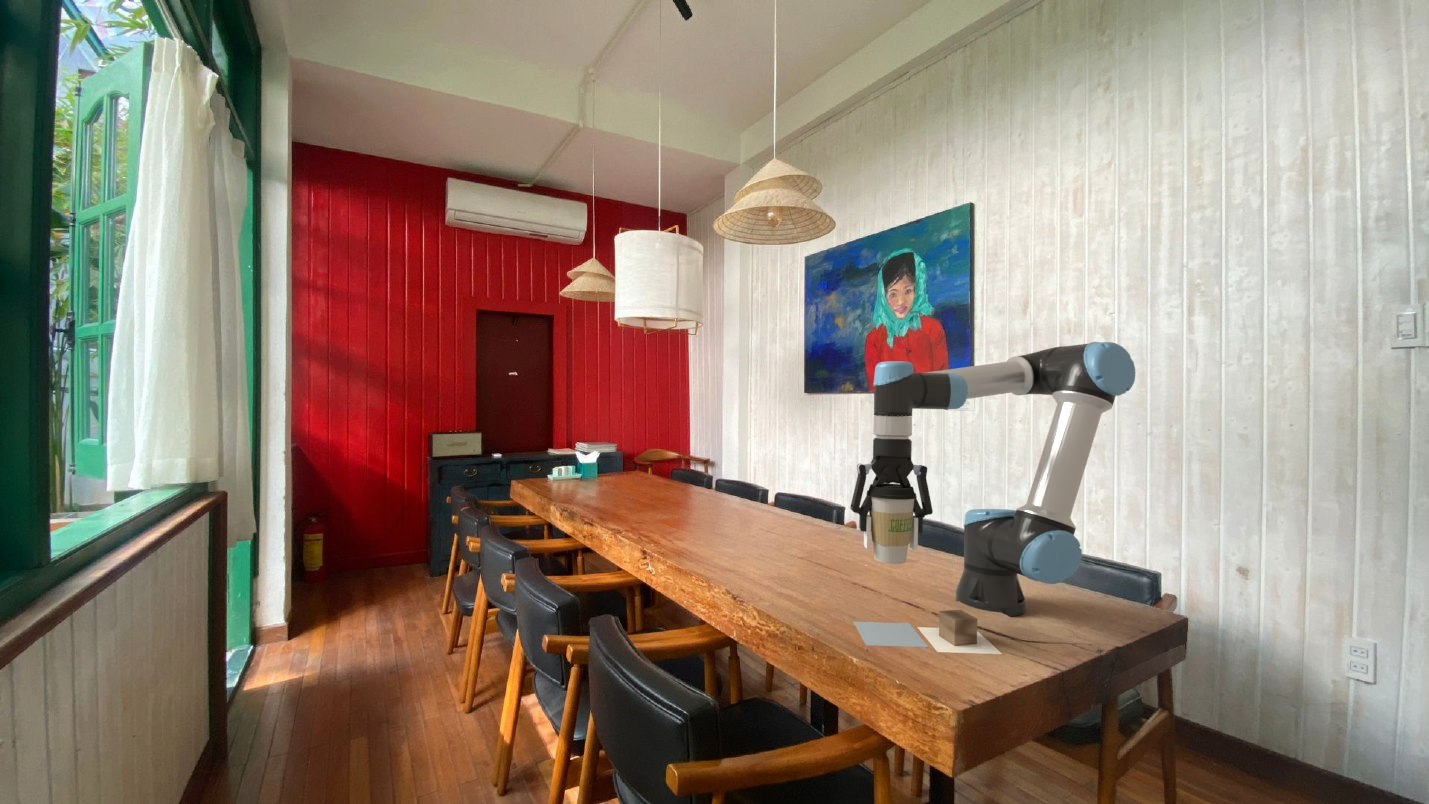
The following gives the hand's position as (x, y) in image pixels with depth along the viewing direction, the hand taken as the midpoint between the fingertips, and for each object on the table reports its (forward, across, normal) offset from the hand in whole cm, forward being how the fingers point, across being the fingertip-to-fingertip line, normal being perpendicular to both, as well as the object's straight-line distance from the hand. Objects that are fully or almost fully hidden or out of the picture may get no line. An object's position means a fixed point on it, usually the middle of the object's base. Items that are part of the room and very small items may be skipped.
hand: (890, 548), depth 116 cm
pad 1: (+18, 0, 0) cm, 18 cm away
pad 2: (+18, -13, +2) cm, 23 cm away
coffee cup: (+3, 0, 0) cm, 3 cm away
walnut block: (+17, -13, +2) cm, 22 cm away
